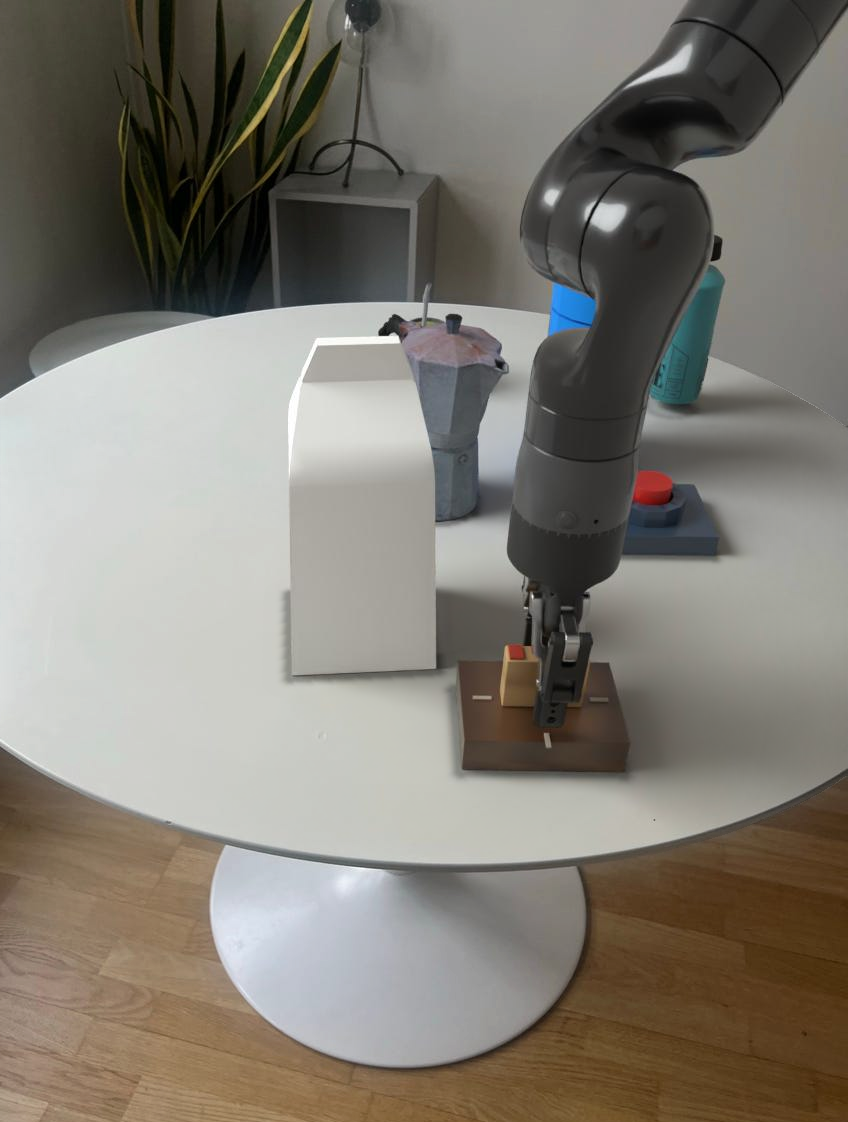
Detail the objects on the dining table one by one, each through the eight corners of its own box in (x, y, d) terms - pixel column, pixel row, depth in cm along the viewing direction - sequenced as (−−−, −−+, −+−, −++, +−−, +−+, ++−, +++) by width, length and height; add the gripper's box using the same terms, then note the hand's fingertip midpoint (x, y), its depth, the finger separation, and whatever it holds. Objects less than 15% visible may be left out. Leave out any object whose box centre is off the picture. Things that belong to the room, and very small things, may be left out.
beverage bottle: (709, 408, 118) (750, 238, 105) (669, 421, 115) (707, 249, 102) (669, 388, 122) (705, 223, 109) (631, 401, 119) (662, 233, 107)
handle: (578, 691, 74) (587, 643, 71) (581, 708, 72) (591, 659, 69) (499, 690, 74) (505, 642, 71) (501, 706, 72) (507, 658, 69)
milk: (291, 675, 80) (272, 377, 63) (290, 592, 88) (273, 312, 72) (436, 668, 80) (454, 372, 64) (420, 587, 89) (432, 308, 73)
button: (664, 486, 96) (668, 470, 95) (673, 507, 93) (677, 491, 92) (624, 485, 96) (627, 470, 95) (632, 506, 93) (635, 491, 92)
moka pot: (469, 544, 95) (485, 347, 82) (346, 494, 102) (343, 307, 89) (518, 503, 101) (540, 314, 88) (399, 459, 108) (403, 278, 95)
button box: (689, 502, 101) (698, 468, 98) (714, 556, 93) (724, 521, 91) (575, 500, 101) (580, 467, 99) (590, 554, 93) (596, 519, 91)
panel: (602, 685, 79) (608, 655, 77) (625, 778, 71) (633, 748, 69) (455, 683, 79) (457, 653, 77) (462, 775, 71) (465, 745, 69)
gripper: (653, 563, 56) (607, 760, 67) (610, 445, 67) (577, 630, 78) (524, 561, 56) (499, 758, 67) (503, 444, 67) (484, 629, 78)
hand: (541, 689), depth 72 cm, fingers open, 7 cm apart
